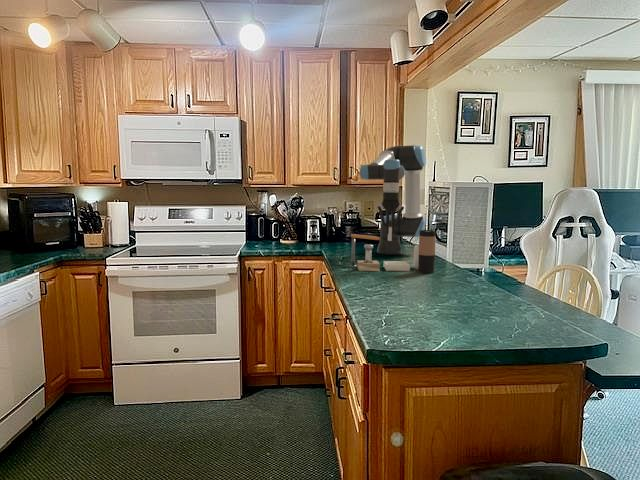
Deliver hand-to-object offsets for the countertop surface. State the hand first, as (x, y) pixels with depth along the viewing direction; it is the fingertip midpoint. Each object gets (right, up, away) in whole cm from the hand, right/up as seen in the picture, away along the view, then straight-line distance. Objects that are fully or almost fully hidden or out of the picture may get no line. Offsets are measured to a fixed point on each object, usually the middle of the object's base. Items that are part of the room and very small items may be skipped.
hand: (389, 240), depth 231 cm
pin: (-10, -14, +3) cm, 18 cm away
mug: (+19, -14, +8) cm, 25 cm away
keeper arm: (-12, +1, +3) cm, 12 cm away
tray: (+4, -14, +4) cm, 15 cm away
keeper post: (-17, -13, +10) cm, 24 cm away
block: (-10, -14, +3) cm, 18 cm away
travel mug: (+17, -15, -4) cm, 23 cm away
